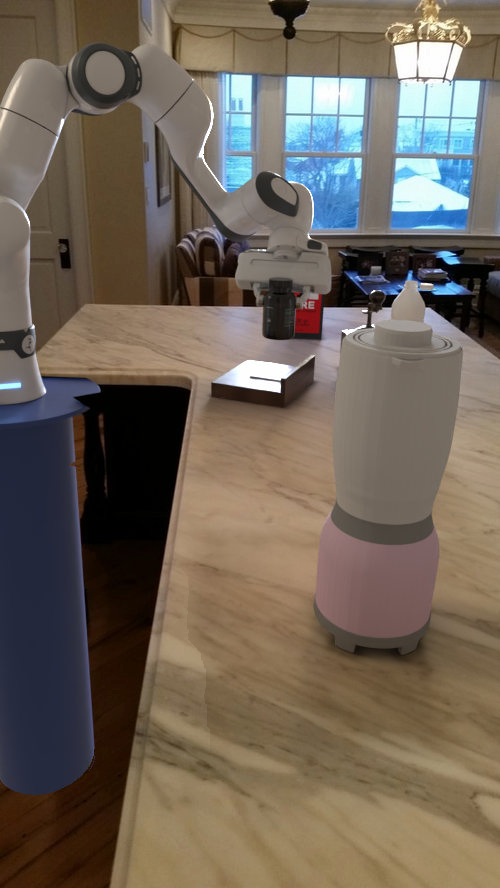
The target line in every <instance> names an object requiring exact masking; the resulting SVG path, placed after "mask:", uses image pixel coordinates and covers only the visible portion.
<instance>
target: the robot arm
mask: <svg viewBox="0 0 500 888" xmlns="http://www.w3.org/2000/svg"><path fill="white" fill-rule="evenodd" d="M124 103H130V104H132V105H135V106H136V107H138V108H139V109H140V110H141V111H142V112H144V114H145V115H146V116H147V117H148V118H149V119H150V120H151V122H152V123H153V124H154V125H155V126H156V127H157V128H158V129H159V131H160V132H161V133H162V135H163V137H164V139H165V142H166V144H167V153H168V156H169V159H170V160H171V162H172V164H173V165H174V167H175V169H176V171H177V172H178V173H179V175H180V176H181V177H182V179H183V180H184V181H185V183H186V184H187V186H188V187H189V189H190V190H191V191H192V192H193V194H194V195H195V197H196V198H197V199H198V200H199V202H200V203H201V205H202V206H203V207H204V209H205V210H206V211H207V213H208V214H209V216H210V218H211V220H212V222H213V223H214V226H215V228H216V230H217V231H218V232H219V234H220V235H222V236H223V238H225V239H227V240H228V241H231V242H235V243H244V242H246V241H247V240H248V239H250V238H251V237H252V236H253V235H255V234H256V233H257V232H258V231H260V230H262V229H263V228H264V227H267V228H268V229H269V231H270V232H269V236H268V243H267V247H266V249H250V248H249V249H246V250H243V251H241V252H240V253H239V254H238V257H237V268H236V270H235V275H234V280H235V285H236V287H237V288H238V289H239V290H249V291H253V295H254V296H255V298H256V299H255V306H256V307H263V298H264V295H265V294H261V293H262V291H266V292H268V291H269V290H270V288H269V279H270V278H274V277H283V278H290V279H292V280H293V283H292V286H293V288H292V289H291V291H292V292H298V293H303V295H302V296H301V297H300V298H298V297H296V304H295V306H296V309H303V304H304V302H305V301H306V300H307V299H308V298H309V297H310V293H314V294H325V295H327V294H329V293H330V292H331V290H332V262H331V258H329V255H330V254H329V246H328V244H327V243H326V242H323V241H320V240H317V239H313V238H311V237H310V232H312V228H313V221H314V200H313V196H312V193H311V191H310V189H308V188H307V187H306V186H305V185H304V184H302V183H300V182H297V181H288V180H287V179H285V178H284V177H283V176H281V175H279V174H277V173H275V172H273V171H270V170H269V171H268V170H263V171H261V172H259V173H258V174H255V175H254V176H253V177H251V178H250V179H249V180H247V181H245V183H244V184H242V185H241V186H240V187H238V188H236V189H235V190H234V191H233V192H229V191H227V190H225V188H223V186H222V185H221V183H220V182H219V180H218V179H217V177H216V176H215V175H214V173H213V172H212V170H211V169H210V167H209V166H208V165H207V163H206V161H205V158H204V155H203V154H204V146H205V144H206V141H207V139H208V136H209V134H210V132H211V130H212V126H213V120H214V110H213V106H212V102H211V100H210V98H209V96H208V95H207V93H206V91H204V89H203V88H202V87H201V86H200V85H199V83H198V82H196V80H195V79H194V78H193V76H191V75H190V74H189V72H187V70H185V68H183V66H182V65H180V64H179V63H178V62H177V61H176V60H175V59H174V57H172V56H170V55H169V54H168V53H167V51H164V50H163V49H162V48H160V47H159V46H157V45H156V44H154V43H145V44H141V45H139V46H137V47H135V48H134V49H133V50H132V51H129V50H126V49H123V48H120V47H117V46H115V45H112V44H110V43H106V42H100V41H96V42H90V43H88V44H86V45H84V46H83V47H81V48H80V49H79V50H78V51H77V52H75V53H74V54H73V56H71V58H70V59H69V60H68V61H67V63H65V64H63V65H55V64H54V63H52V62H50V61H48V60H46V59H41V58H28V59H26V60H24V61H22V63H21V64H20V65H19V67H18V68H17V70H16V71H15V73H14V75H13V77H12V79H11V80H10V83H9V85H8V86H7V88H6V90H5V93H4V94H3V97H2V100H1V102H0V405H5V404H16V403H23V402H28V401H32V400H35V399H37V398H40V397H42V396H43V395H44V394H45V393H46V389H45V387H44V384H43V381H42V378H41V376H42V375H41V370H39V369H40V368H39V364H38V359H37V353H36V344H37V339H36V338H37V336H36V328H35V325H34V324H33V320H32V307H31V297H30V296H31V295H30V267H31V224H30V219H29V217H28V215H27V213H26V211H27V208H28V206H29V205H30V203H31V200H32V198H33V197H34V195H35V193H36V191H37V190H38V188H39V186H40V185H41V183H42V182H43V180H44V179H45V175H46V173H47V171H48V168H49V165H50V161H51V159H52V156H53V155H54V151H55V148H56V145H57V143H58V141H59V137H60V135H61V131H62V129H63V126H64V124H65V122H66V120H67V118H68V116H69V115H70V114H71V113H74V114H80V115H84V116H90V117H99V116H103V115H105V114H108V113H111V112H113V111H114V110H116V109H117V108H118V107H119V106H121V105H122V104H124Z"/></svg>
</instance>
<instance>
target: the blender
mask: <svg viewBox="0 0 500 888" xmlns="http://www.w3.org/2000/svg"><path fill="white" fill-rule="evenodd" d="M374 326H375V328H369V329H361V330H356V331H352V332H350V333H348V334H347V335H346V336H345V337H344V339H343V341H342V346H341V345H340V348H341V354H340V353H339V361H338V362H339V363H338V369H337V376H336V383H335V390H334V391H335V393H334V406H333V417H332V418H333V419H332V431H331V432H332V436H331V437H332V440H331V442H332V464H333V473H334V483H335V502H334V504H333V507H332V509H331V511H330V512H329V514H328V515H327V517H326V518H325V520H324V523H323V525H322V528H321V532H320V535H319V543H318V554H317V567H316V581H315V583H316V584H315V586H316V587H315V593H314V598H313V600H314V601H313V612H314V613H313V614H314V616H315V618H316V620H317V621H318V623H319V624H320V625H321V626H322V627H323V628H324V629H325V630H326V631H327V632H328V633H330V634H331V635H333V636H334V645H335V646H336V647H338V648H339V649H341V650H344V651H346V652H348V653H351V654H353V653H355V651H356V649H357V648H356V647H357V646H360V647H365V648H369V649H370V648H371V649H396V648H397V652H398V653H399V654H400V655H402V656H403V655H407V654H410V653H412V652H414V651H415V650H417V647H418V644H419V641H420V640H421V639H422V638H423V637H424V636H425V635H426V634H427V632H428V631H429V628H430V624H431V618H432V604H433V599H434V593H435V588H436V581H437V575H438V568H439V561H440V539H439V536H438V531H437V529H436V526H435V523H434V519H433V508H434V505H435V500H436V497H437V495H438V493H439V490H440V486H441V483H442V480H443V477H444V473H445V470H446V467H447V464H448V461H449V457H450V453H451V449H452V445H453V440H454V434H455V433H454V432H455V426H456V420H457V414H458V408H459V400H460V391H461V377H462V370H463V369H462V368H463V367H462V366H463V357H464V348H463V347H462V346H461V344H460V342H459V341H457V340H456V339H454V338H452V337H449V336H447V335H443V334H440V333H436V332H434V331H433V327H432V326H431V325H430V324H427V323H421V322H416V321H408V320H390V319H384V320H383V319H382V320H378V321H377V322H376V323H375V324H374Z"/></svg>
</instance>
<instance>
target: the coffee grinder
mask: <svg viewBox="0 0 500 888" xmlns="http://www.w3.org/2000/svg"><path fill="white" fill-rule="evenodd" d="M386 297H387V295H386V293H385V292H383V291H382V290H378V289H377V290H373V291H371V292H370V293H369V295H368V298H369V300H370V301H371V302H368V303H367V305H366V307H367V309H366V310H362V314H363V315H367V319H366V323H365V325H362V326H359V327H356V328H355V329H349V330H348V329H344V330H343V329H342V330H341V334H340V348H339V349H340V350H339V351H340V352H339V355H340V354H341V346H342V341H343V339H344V337H345V336H346V335H347V334H348V333H350V332H352V331H356V330H361V329H369V328H375V324H372V316H373V315H372V314H373V313H376V314H377V313H378V312H380V311H383V310H384V308H383V305H382V304H383V303H384V302H385V300H386Z"/></svg>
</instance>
